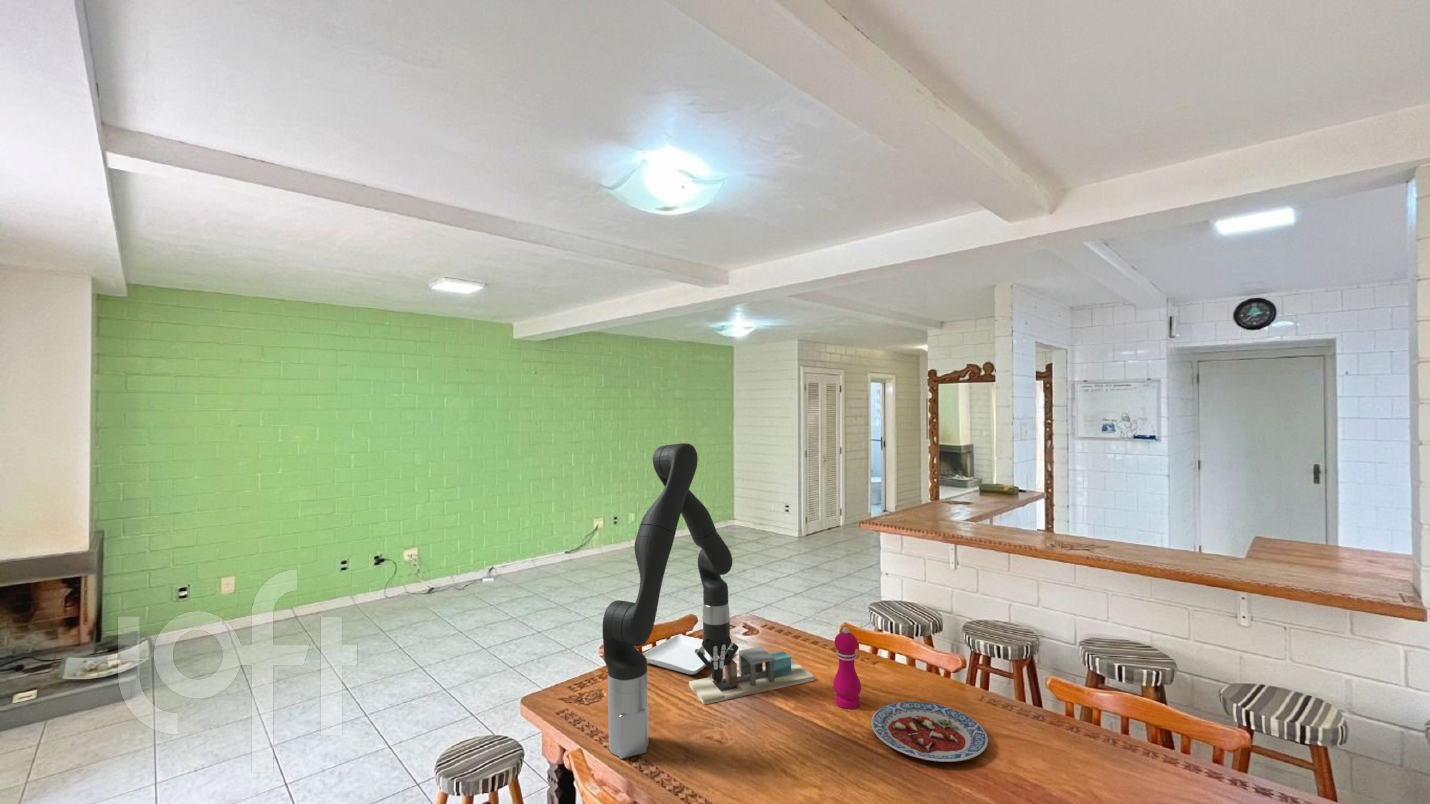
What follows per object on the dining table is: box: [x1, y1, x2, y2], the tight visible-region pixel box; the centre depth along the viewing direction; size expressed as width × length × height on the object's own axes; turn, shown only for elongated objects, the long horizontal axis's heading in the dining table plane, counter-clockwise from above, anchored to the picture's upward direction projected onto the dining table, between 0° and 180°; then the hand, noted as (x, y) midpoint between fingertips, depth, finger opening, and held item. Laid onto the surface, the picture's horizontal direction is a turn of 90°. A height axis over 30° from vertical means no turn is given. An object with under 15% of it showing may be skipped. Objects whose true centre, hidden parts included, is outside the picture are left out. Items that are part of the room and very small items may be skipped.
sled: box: [724, 650, 792, 686], centre depth 168 cm, size 5×19×6 cm, turn 112°
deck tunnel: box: [688, 646, 815, 705], centre depth 167 cm, size 12×34×8 cm, turn 112°
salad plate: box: [642, 634, 729, 676], centre depth 184 cm, size 21×21×3 cm
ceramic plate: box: [871, 701, 989, 763], centre depth 138 cm, size 26×26×3 cm
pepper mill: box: [832, 626, 862, 710], centre depth 155 cm, size 7×7×20 cm
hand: (717, 681), depth 164 cm, fingers closed
